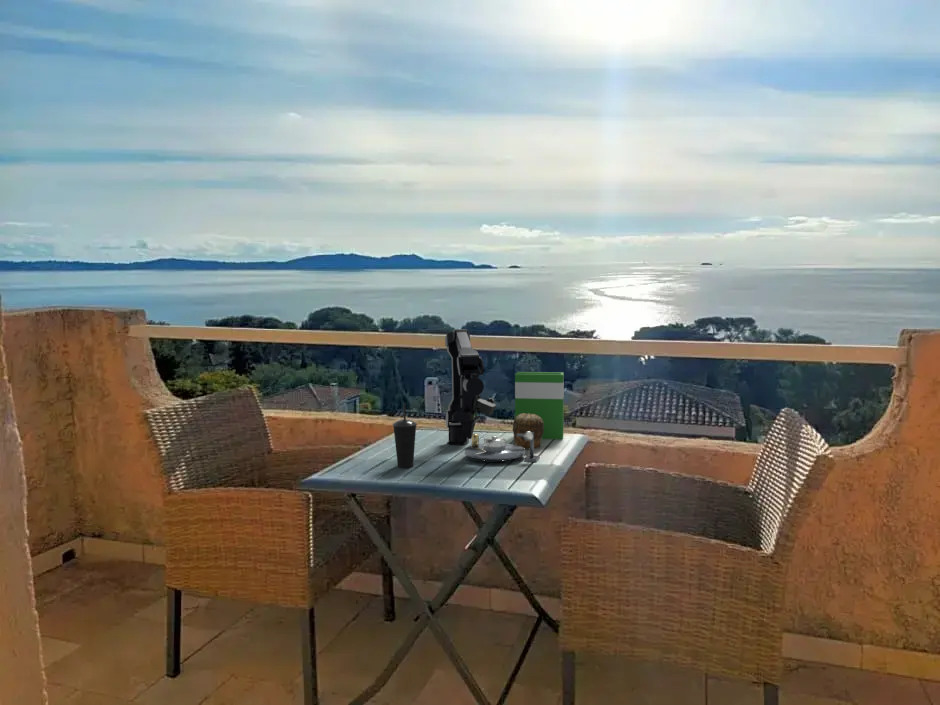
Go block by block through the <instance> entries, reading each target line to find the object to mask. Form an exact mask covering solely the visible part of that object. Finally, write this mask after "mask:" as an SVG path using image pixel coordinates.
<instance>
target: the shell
mask: <svg viewBox="0 0 940 705" xmlns="http://www.w3.org/2000/svg"><path fill="white" fill-rule="evenodd" d="M527 431H530V432H533V433H534V448H535V449H538V448H541V443H542V439H541V438H542V435H543V433H544V423H543V420H542V419H541V417H539V416H538V415H535V414H529V413H528V414H525V413H522V414H520V415H518V416H517V417H516V418H515V417H514V420H513V424H512V433H513V440H514V441H513V442H514V445H517V446H521V447H523V448H525V450H530V441H526V440H525V439H524V437H519V436H517V434H524V433H525V432H527Z"/></svg>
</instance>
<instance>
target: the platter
mask: <svg viewBox="0 0 940 705" xmlns="http://www.w3.org/2000/svg"><path fill="white" fill-rule="evenodd" d="M479 436H480V434H479V433H473V435H472V438H471V445H469V446H467V447H465V448H464V450H463V452H464V455H465V456H466V457H468V458H472V459H475V460H476V459H477V460H478V459H481V460H509V459H511V460H514V459H515V460H516V459H519V458H522V457H524V456H525V455H526V449H524V448H523V447H521V446H517V445H515V444H513V443H505V451H501V452H488V451H485V450H484V443H479V442H480V439H479ZM481 460H480V461H481ZM509 461H510V460H509Z"/></svg>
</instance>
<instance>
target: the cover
mask: <svg viewBox="0 0 940 705" xmlns="http://www.w3.org/2000/svg"><path fill="white" fill-rule="evenodd" d="M483 444H484V450H485V451H488V452H501V451H505V444H506V438H504V437H499V436H497V435H493V436H491V437H485V438H483Z"/></svg>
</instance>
